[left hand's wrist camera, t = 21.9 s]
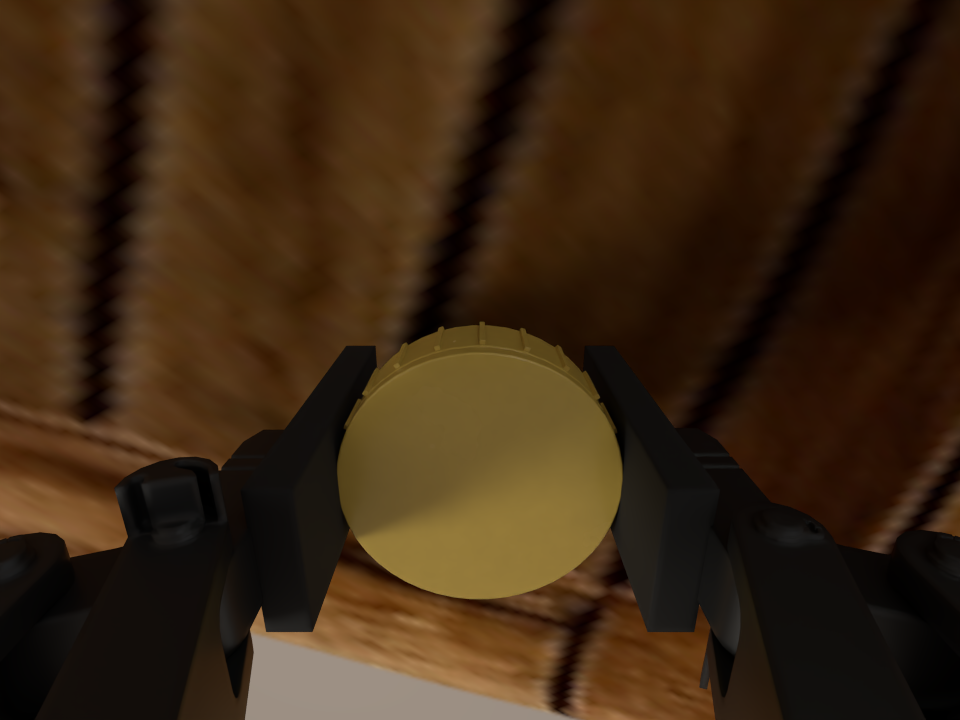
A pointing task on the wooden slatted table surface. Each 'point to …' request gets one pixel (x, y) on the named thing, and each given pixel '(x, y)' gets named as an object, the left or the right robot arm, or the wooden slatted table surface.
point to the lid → (479, 464)
